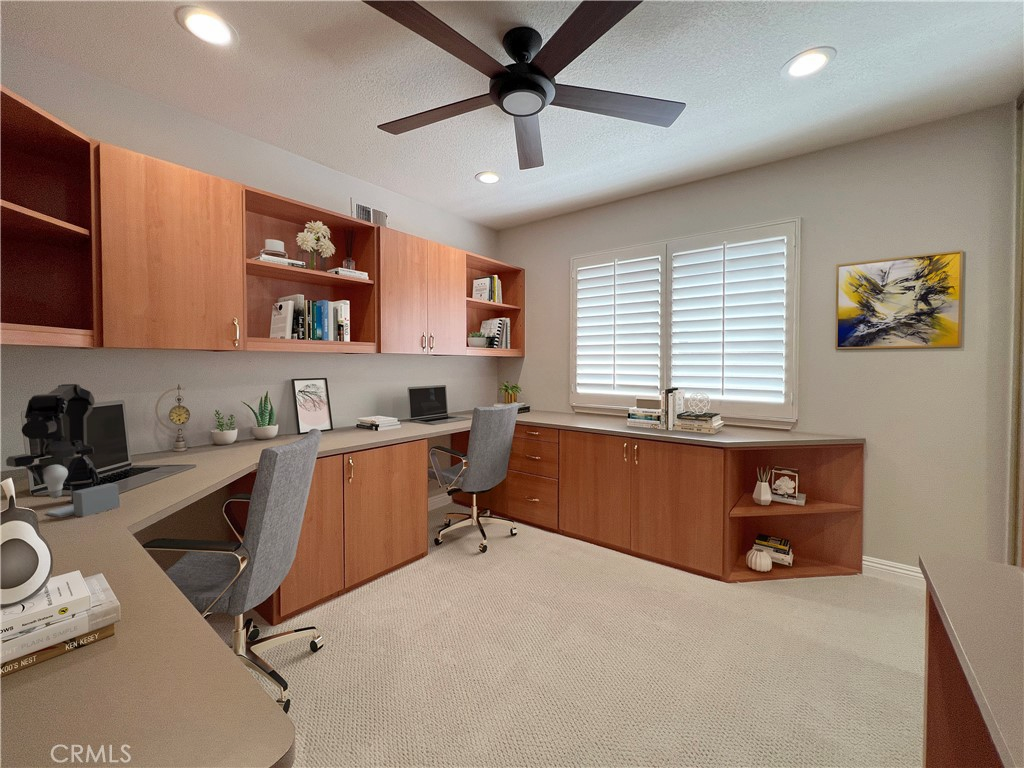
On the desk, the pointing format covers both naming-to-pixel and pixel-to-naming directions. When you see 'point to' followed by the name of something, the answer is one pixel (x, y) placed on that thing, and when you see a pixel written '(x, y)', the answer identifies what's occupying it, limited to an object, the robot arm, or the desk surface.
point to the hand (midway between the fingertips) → (54, 481)
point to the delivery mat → (62, 511)
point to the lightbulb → (54, 479)
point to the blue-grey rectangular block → (95, 499)
